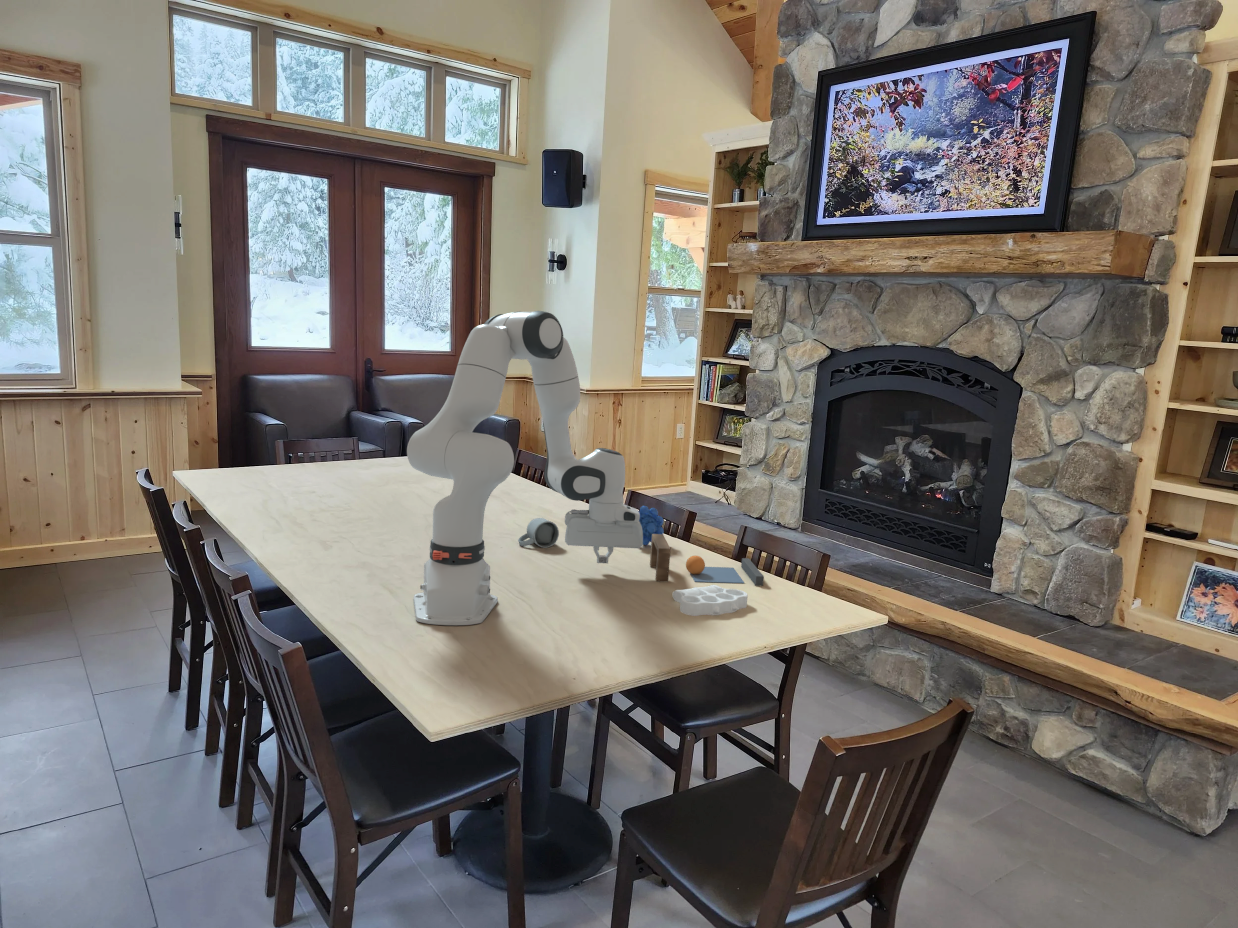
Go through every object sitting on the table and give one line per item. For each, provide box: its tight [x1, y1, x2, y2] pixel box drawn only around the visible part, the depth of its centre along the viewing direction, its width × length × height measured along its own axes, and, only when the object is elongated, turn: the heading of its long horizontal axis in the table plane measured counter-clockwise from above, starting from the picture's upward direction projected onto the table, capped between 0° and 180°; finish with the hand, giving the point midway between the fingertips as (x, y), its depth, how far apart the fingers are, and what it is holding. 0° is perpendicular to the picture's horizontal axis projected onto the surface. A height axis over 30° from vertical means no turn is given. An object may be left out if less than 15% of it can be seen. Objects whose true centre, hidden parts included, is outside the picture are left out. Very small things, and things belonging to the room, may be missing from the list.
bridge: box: [649, 533, 671, 583], centre depth 219 cm, size 3×14×9 cm, turn 5°
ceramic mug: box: [517, 517, 560, 549], centre depth 239 cm, size 11×8×8 cm
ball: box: [685, 555, 706, 575], centre depth 221 cm, size 5×5×5 cm
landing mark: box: [689, 566, 745, 584], centre depth 221 cm, size 13×13×1 cm
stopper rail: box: [740, 557, 765, 587], centre depth 222 cm, size 16×2×2 cm, turn 5°
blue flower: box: [639, 505, 665, 546], centre depth 244 cm, size 12×7×12 cm, turn 117°
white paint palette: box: [672, 584, 749, 617], centre depth 197 cm, size 3×18×15 cm
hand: (602, 562), depth 218 cm, fingers closed
